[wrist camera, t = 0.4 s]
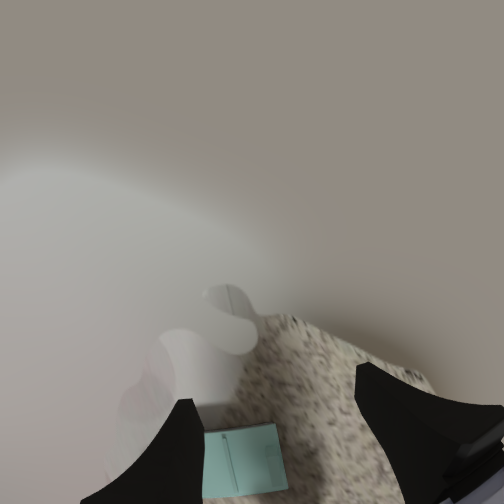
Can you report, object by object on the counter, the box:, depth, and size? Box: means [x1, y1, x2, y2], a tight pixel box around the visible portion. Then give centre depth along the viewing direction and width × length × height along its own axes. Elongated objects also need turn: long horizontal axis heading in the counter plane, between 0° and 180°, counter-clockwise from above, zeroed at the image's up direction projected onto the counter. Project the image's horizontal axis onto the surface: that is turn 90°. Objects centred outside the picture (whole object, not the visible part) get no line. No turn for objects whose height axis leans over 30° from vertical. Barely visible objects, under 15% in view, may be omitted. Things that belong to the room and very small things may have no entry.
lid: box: [202, 423, 289, 498], centre depth 25 cm, size 10×13×5 cm
